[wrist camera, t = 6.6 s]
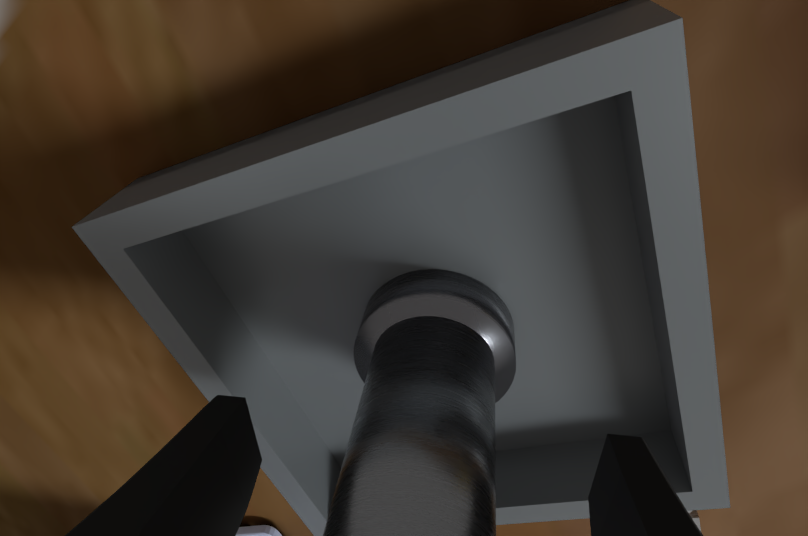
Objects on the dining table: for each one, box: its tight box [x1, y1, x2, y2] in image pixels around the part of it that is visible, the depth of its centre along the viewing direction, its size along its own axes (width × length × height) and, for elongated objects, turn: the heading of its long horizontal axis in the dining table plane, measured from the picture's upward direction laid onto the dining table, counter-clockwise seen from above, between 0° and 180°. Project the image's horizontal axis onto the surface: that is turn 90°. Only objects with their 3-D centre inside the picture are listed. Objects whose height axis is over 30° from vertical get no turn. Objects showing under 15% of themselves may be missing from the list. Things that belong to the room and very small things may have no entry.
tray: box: [72, 0, 730, 536], centre depth 13 cm, size 12×12×2 cm
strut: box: [323, 269, 516, 536], centre depth 11 cm, size 4×4×7 cm
